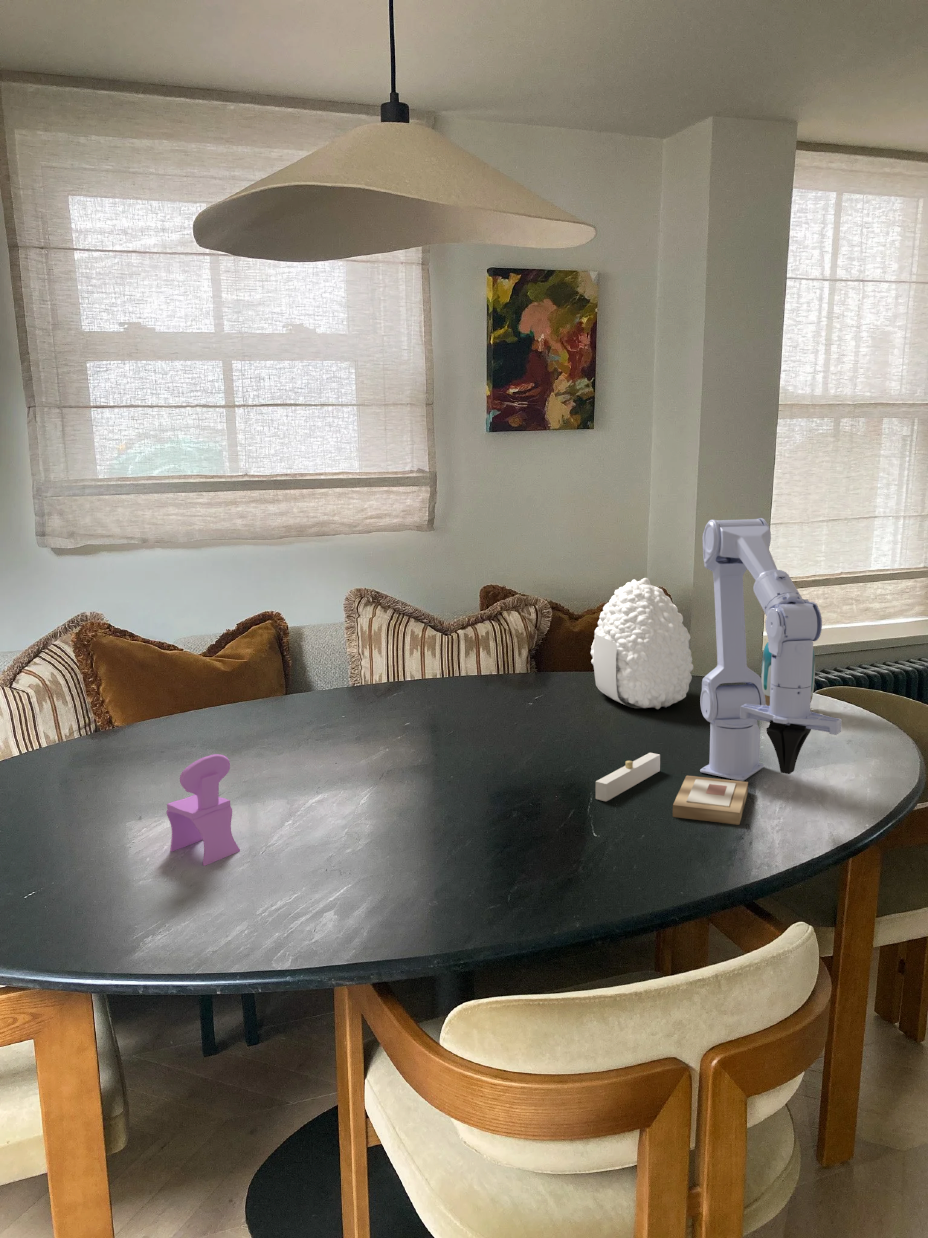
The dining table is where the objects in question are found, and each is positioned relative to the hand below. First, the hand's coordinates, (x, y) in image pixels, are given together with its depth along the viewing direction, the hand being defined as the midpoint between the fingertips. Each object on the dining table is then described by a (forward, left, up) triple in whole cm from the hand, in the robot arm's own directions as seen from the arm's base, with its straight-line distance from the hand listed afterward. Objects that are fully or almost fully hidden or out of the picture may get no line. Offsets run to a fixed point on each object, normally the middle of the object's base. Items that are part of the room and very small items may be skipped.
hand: (787, 771), depth 142 cm
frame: (0, -12, -8) cm, 15 cm away
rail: (0, -27, -8) cm, 28 cm away
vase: (-57, -22, -8) cm, 62 cm away
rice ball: (-48, -52, -8) cm, 71 cm away
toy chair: (+60, -63, -8) cm, 87 cm away
